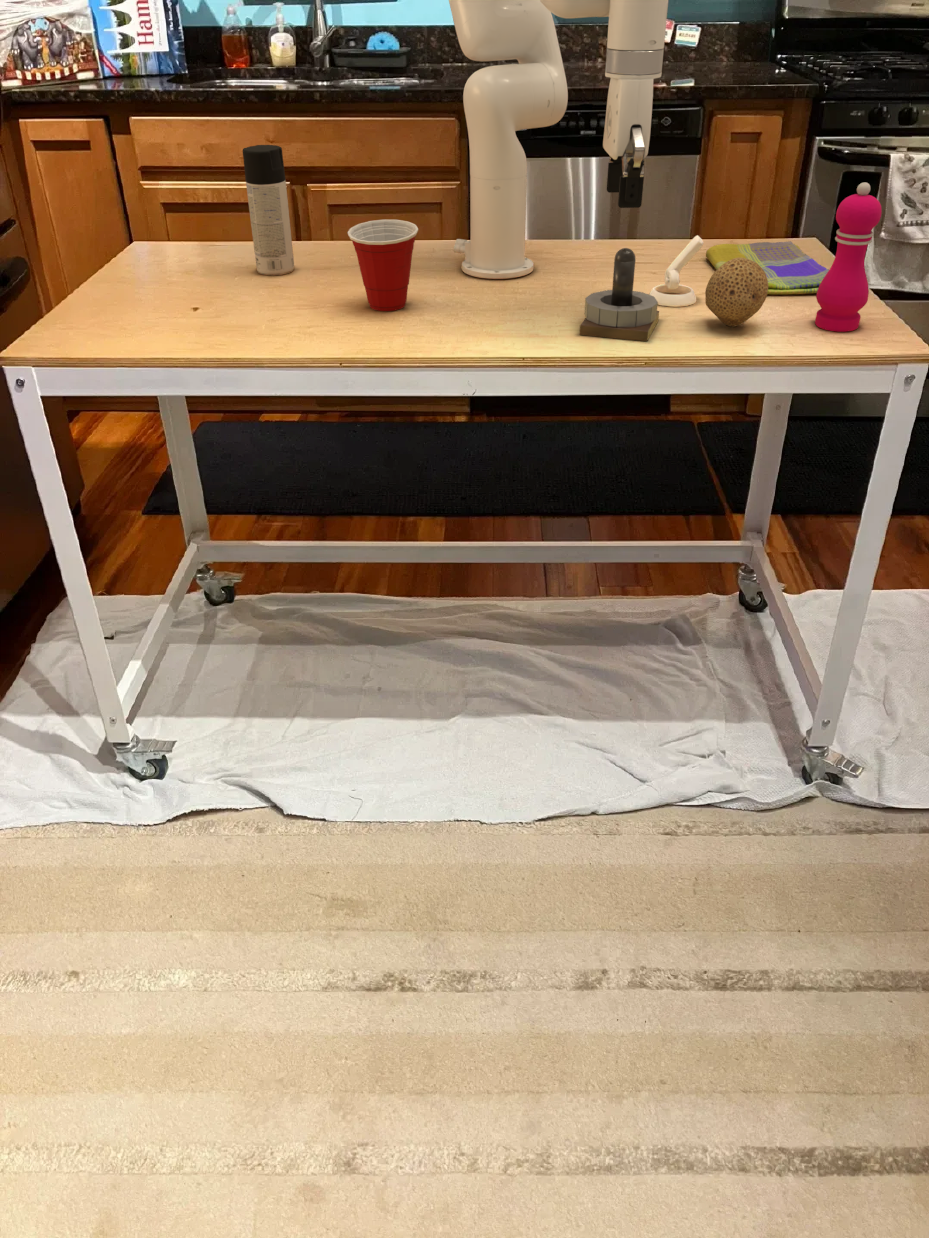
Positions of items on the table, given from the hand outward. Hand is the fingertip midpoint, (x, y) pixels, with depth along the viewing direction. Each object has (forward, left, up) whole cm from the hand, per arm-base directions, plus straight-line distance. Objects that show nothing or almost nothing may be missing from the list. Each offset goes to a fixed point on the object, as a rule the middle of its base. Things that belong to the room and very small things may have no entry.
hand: (623, 199), depth 145 cm
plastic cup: (-33, -13, -17) cm, 40 cm away
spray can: (-62, -7, -17) cm, 65 cm away
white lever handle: (+4, +14, -17) cm, 22 cm away
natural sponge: (+17, +6, -17) cm, 25 cm away
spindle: (+3, -3, -17) cm, 18 cm away
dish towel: (+12, +35, -17) cm, 41 cm away
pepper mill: (+30, +15, -17) cm, 37 cm away
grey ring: (+2, -3, -16) cm, 16 cm away
